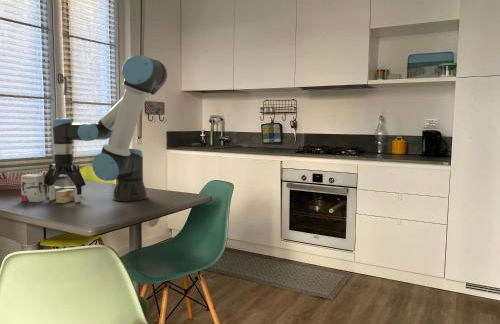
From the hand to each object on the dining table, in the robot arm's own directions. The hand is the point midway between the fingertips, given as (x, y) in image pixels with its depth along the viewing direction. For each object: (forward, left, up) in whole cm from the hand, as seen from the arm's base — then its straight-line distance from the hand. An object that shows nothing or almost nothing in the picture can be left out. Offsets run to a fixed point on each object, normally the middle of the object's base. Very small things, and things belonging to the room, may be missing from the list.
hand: (65, 200), depth 179 cm
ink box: (+14, +4, 0) cm, 14 cm away
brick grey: (+4, -9, 0) cm, 10 cm away
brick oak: (0, 0, 0) cm, 0 cm away
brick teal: (+11, -6, 0) cm, 12 cm away
